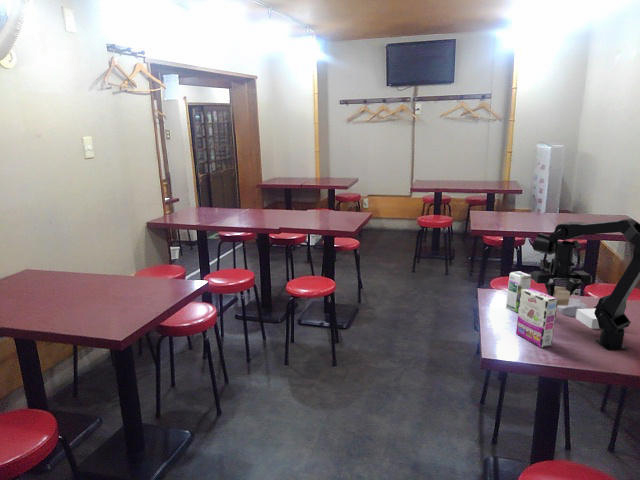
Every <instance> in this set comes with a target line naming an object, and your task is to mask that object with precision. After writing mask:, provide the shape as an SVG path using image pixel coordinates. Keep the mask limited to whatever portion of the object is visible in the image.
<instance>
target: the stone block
mask: <svg viewBox="0 0 640 480" xmlns="http://www.w3.org/2000/svg"><path fill="white" fill-rule="evenodd" d="M577 309H589V307H588V305H587V304H586V303H583V302H582V300H581V299H580V298H573V297H569V304H568V306H557V310H558V312H559V313H560V314H562V315H563V316H566V315H568V316H567V317H576V313H577Z"/></svg>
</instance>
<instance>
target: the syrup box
mask: <svg viewBox="0 0 640 480" xmlns="http://www.w3.org/2000/svg"><path fill="white" fill-rule="evenodd" d="M508 277H509V279H508V286H507V287H508V288H507V295H506V304H505V308H506V309H509V310H511V311H513V312H516V313H518V312H519V303H520V294H521V290H522V289H528V288H531V281H532V279H531V274H528V273H525V272H522V271H511V272H510V273H509V276H508Z"/></svg>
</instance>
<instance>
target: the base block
mask: <svg viewBox="0 0 640 480" xmlns="http://www.w3.org/2000/svg"><path fill="white" fill-rule="evenodd" d="M595 310H596V309H595V308H594V307H593V308H588V309H577V313H576V316H575V319H576V320H578V321H579V322H580V323H582V324H584V325H585V326H586V327H588V328H590V329H591V330H593V329H594V330H596V329H601V328H599V325H598V320H597V318H596V316H595V314H594V312H595Z"/></svg>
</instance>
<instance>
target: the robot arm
mask: <svg viewBox="0 0 640 480" xmlns="http://www.w3.org/2000/svg"><path fill="white" fill-rule="evenodd" d="M612 233H613V234H614V233H621V234H622V235H624V237H625V239H627V241H628V242H629V243H630V244H631V245H633V248H632V258H631V261H630V262H629V264H628V265H627V267H626V268H625V270H624V272H623V273H622V275H621V277H620V278H619V280H618V281H617V284H616V285H615V287H614V288H613V291H612V292H611V294H607V295H604V296H602V297H600V298H598V299H599V300H598V302H597V304H596V306H594V307H593V309H594V308H595V309H596V310H595V312H594V314H595V316H596V318H597V320H598V325H599V328H601V331H600V337H599V338H596V339H595V342H596V343H597V344H599V345H600V346H602V347H603V348H604V349H605V350H607V351H609V350H610V351H611V350H612V351H613V350H627V347H626V346H625V345H624V337H625V329H626V328H628V327H629V326H630V325H631V320H630V319H629V317H628V316H627V315H626V314H625V311H626V308H627V300H628V298H629V297H630V295H631V294H632V292H633V290H634V289H635V287H636V285H637V284H638V282H639V281H640V223H639V222H637V221H636V220H634V219H633V218H630V217H629V218H628V217H627V218H624V219H615V220H608V221H607V220H606V221H597V222H596V221H595V222H581V221H567V222H562V223H558V224H557V225H556V226H555V228H554V230H553V232H552V233H551V234H550V235H549V234H546V233H541V232H540V233H537V236H536V238H535V239H534V241H533V242H532V250H533V251H534V252H537V253H541V254H546V255H550V256H551V255H553V254H554V257H552V259H551V261H548V259H540V262H539V267H540V269H541V270H536V271H534V270H533V271H532V272H531V274H530V275H531V281H532V280H533V281H534V282H535V283H537V284H539V285H540V284H541V285H542V284H544V287H545V289H546V292H547V293H546V294H547V295H550V296H552V297H553V294H554V289H555V287H556V284H555V283H554V281H555V280H557V281H561V280H563V281H565V289H566V290H568V291H569V292H570V297H571V296H572V294H573V293H574V292H575V291H576V290H577V289H578V288H579V287H580V286H582V284H592V281H593V276H592V275H591V274H589V273H587V272H586V271H584V270H573V271H572V269H573V267H574V266H575V262H574V255H575V254H574V253H575V250H576V249H579V248H582V245H581V243H579V241H578V239H575V240H572V241H571V240H570V239H574V238H579V237H583V236H586V235H587V236H589V235H600V234H601V235H602V234H612ZM543 269H544V271H543ZM546 272H548V273H546Z"/></svg>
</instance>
